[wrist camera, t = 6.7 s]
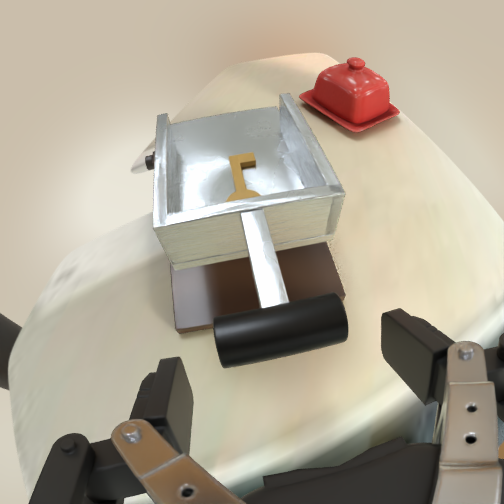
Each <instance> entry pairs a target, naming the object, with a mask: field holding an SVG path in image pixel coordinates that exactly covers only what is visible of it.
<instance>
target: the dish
mask: <svg viewBox="0 0 504 504" xmlns="http://www.w3.org/2000/svg"><path fill="white" fill-rule="evenodd" d="M279 96H280V112H279V110H278V108H277V107H276V106H275V107H267V108H259V109H252V110H245V111H238V112H232V113H226V114H220V115H215V116H209V117H204V118H199V119H194V120H189V121H184V122H179V123H175V124H170V121H169V117H168V114H167V113H165V114H161V115H158V116H157V126H156V142H155V161H154V192H153V193H154V194H153V229H154V231H155V233H156V235H157V237H158V239H159V241H160V243H161V245H162V247H163V249H164V251H165V253H166V255H167V257H168V258H169V260H170V262H171V264H172V266H173V268H174V270H182V269H187V268H192V267H197V266H202V265H208V264H213V263H218V262H223V261H228V260H234V259H239V258H244V257H249V262H250V266H251V271H252V275H253V280H254V284H255V289H256V293H257V298H258V302H259V307H260V308H258V309H253V310H248V311H243V312H238V313H232V314H227V315H222V316H216V317H214V318H213V330H214V337H215V343H216V348H217V352H218V356H219V359H220V362H221V365H222V367H223V368H231V367H236V366H242V365H247V364H252V363H257V362H262V361H267V360H272V359H277V358H281V357H286V356H290V355H295V354H299V353H303V352H307V351H311V350H315V349H319V348H323V347H327V346H331V345H335V344H338V343H342V342H345V341H346V340H347V337H348V320H347V315H346V311H345V308H344V305H343V303H342V301H341V299H340V297H339V295H338V294H337V293H335V292H331V293H327V294H323V295H318V296H314V297H310V298H305V299H301V300H296V301H291V302H289V299H288V296H287V292H286V288H285V285H284V281H283V277H282V274H281V270H280V266H279V263H278V259H277V255H276V252H275V251H280V250H285V249H290V248H295V247H301V246H306V245H311V244H316V243H321V242H326V241H331V240H333V238H334V235H335V231H336V228H337V224H338V220H339V216H340V212H341V209H342V205H343V201H344V197H345V191H344V189H343V188H342V186H341V184H340V182H339V180H338V178H337V176H336V174H335V172H334V170H333V168H332V166H331V164H330V163H329V161H328V159H327V157H326V155H325V153H324V152H323V150H322V148H321V146H320V144H319V143H318V141H317V139H316V137H315V135H314V134H313V132H312V130H311V128H310V127H309V125H308V123H307V122H306V120H305V118H304V117H303V115H302V113H301V112H300V110H299V108H298V107H297V105H296V103H295V102H294V100H293V98H292V97H291V95H290V94H289V93H287V94H280V95H279ZM251 152H253V153H254V156H255V159H256V165H253V166H248V167H242V168H241V169H242V173H243V177H244V181H245V185H246V188H247V189H249V190H253V191H256V192H257V193H259V194H260V195H261V196H256V197H251V198H245V199H240V200H234V201H229V202H226V201H227V199H228V197H229V196H230V195H231V194H232V193H234V192H236V190H235V185H234V181H233V176H232V172H231V167H230V163H229V156H233V155H239V154H245V153H251Z"/></svg>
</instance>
